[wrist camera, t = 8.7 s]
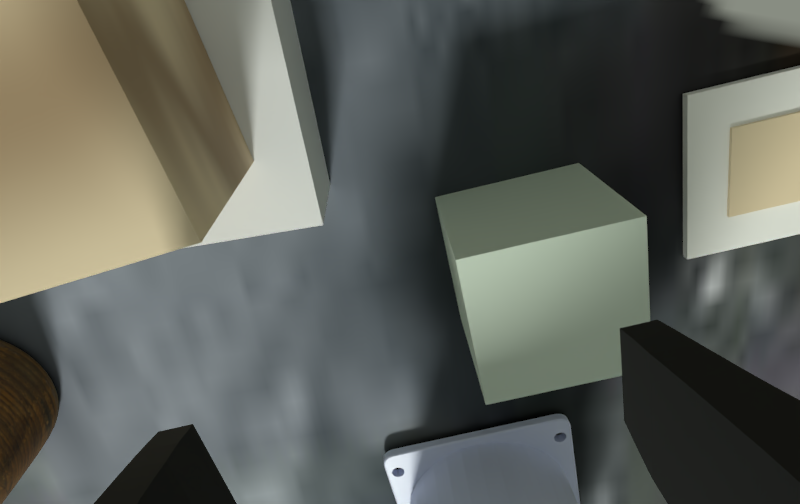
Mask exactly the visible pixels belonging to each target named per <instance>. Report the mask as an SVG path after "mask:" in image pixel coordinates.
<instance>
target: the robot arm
mask: <svg viewBox="0 0 800 504" xmlns="http://www.w3.org/2000/svg"><path fill="white" fill-rule="evenodd" d="M620 345H621V364H622V384H623V403H624V421H625V423H626V425H627V427H628V429H629V432H630V434H631V436H632V438H633V440H634V442H635V444H636V446H637V448H638V451H639V453H640V455H641V457H642V459H643V461H644V463H645V465H646V467H647V469H648V471H649V473H650V475H651V477H652V479H653V480H654V482H655V484H656V485H657V487H658V489H659V490H660V492H661V493H662V495H663V497H664V498H665V500H666V501H667V503H668V504H800V400H798V399H796V398H794V397H792V396H791V395H789V394H787V393H785V392H783V391H781V390H780V389H778V388H776V387H774V386H772V385H770V384H769V383H767V382H765V381H763V380H761V379H760V378H758V377H756V376H754V375H753V374H751V373H749V372H747V371H745V370H744V369H742V368H740V367H738V366H737V365H735V364H733V363H731V362H730V361H728V360H726V359H725V358H723V357H721V356H719V355H718V354H716V353H714V352H712V351H711V350H709V349H707V348H706V347H704V346H702V345H700V344H699V343H697V342H695V341H694V340H692V339H690V338H688V337H687V336H685V335H683V334H682V333H680V332H678V331H676V330H675V329H673V328H671V327H669V326H668V325H666V324H664V323H662V322H661V321H659V320H654V321H650V322H645V323H641V324H636V325H632V326H627V327H623V328H620ZM558 433H561V434H560V435H556V434H558ZM384 467H385V470H386V473H387V476H388V479H389V482H390V485H391V488H392V491H393V494H394V497H395V500H396V502H397V504H580V498H579V489H578V481H577V473H576V465H575V457H574V449H573V441H572V432H571V425H570V423H569V420H568V418H567V417H566V416H565V415H563V414H552V415H548V416H543V417H539V418H534V419H529V420H525V421H520V422H516V423H511V424H506V425H502V426H497V427H493V428H488V429H483V430H479V431H474V432H470V433H465V434H460V435H456V436H451V437H447V438H442V439H437V440H433V441H428V442H424V443H419V444H414V445H410V446H405V447H401V448H396V449H392V450H389V451H388V452H386V453H385V455H384ZM395 468H401V469H395ZM94 504H236V502H235V500H234V498H233V496H232V495H231V493H230V491H229V489H228V487H227V485H226V484H225V482H224V480H223V478H222V476H221V474H220V473H219V471H218V469H217V467H216V465H215V464H214V462H213V460H212V458H211V456H210V454H209V453H208V451H207V449H206V447H205V445H204V444H203V442H202V440H201V438H200V436H199V434H198V433H197V431H196V429H195V427H194V425H193V424H191V425H187V426H182V427H178V428H174V429H169V430H165V431H160V432H158V433H157V434H156V435H155V436H154V437H153V438H152V439H151V440H150V441H149V442H148V443H147V444H146V445H145V446H144V447H143V448H142V450H141V451H140V452H139V453H138V454H137V455H136V456H135V457H134V458H133V459H132V461H131V462H130V463H129V464H128V465H127V466H126V467H125V469H124V470H123V471H122V472H121V473H120V474H119V475H118V477H117V478H116V479H115V480H114V481H113V482H112V483H111V485H110V486H109V487H108V488H107V489H106V490H105V491H104V493H103V494H102V495H101V496H100V497H99V498H98V499H97V501H96V502H95V503H94Z"/></svg>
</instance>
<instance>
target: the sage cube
mask: <svg viewBox="0 0 800 504" xmlns="http://www.w3.org/2000/svg"><path fill="white" fill-rule="evenodd" d="M435 201H436V206H437V210H438V215H439V220H440V224H441V229H442V234H443V238H444V243H445V248H446V252H447V257H448V262H449V266H450V271H451V276H452V280H453V285H454V290H455V294H456V299H457V303H458V308H459V313H460V317H461V321H462V324H463V328H464V331H465V335H466V338H467V342H468V345H469V349H470V352H471V356H472V359H473V363H474V366H475V369H476V373H477V376H478V380H479V383H480V387H481V390H482V394H483V397H484V401H485V404H486V405H488V404H493V403H498V402H502V401H507V400H512V399H516V398H521V397H526V396H530V395H535V394H539V393H544V392H549V391H553V390H558V389H563V388H567V387H572V386H576V385H581V384H586V383H590V382H595V381H600V380H604V379H609V378H613V377H618V376H622V364H621V345H620V328H623V327H627V326H632V325H636V324H641V323H645V322H650V300H649V270H648V240H647V216H646V215H645V214H643V213H642V212H641V211H640V210H638V209H637V208H636V207H634V206H633V205H632V204H631V203H629V202H628V201H627V200H626V199H624V198H623V197H622V196H620V195H619V194H618V193H617V192H615V191H614V190H613V189H611V188H610V187H609V186H608V185H606V184H605V183H604V182H603V181H601V180H600V179H599V178H597V177H596V176H595V175H594V174H592V173H591V172H590V171H589V170H587V169H586V168H585V167H583V166H582V165H581V164H580V163H576V164H572V165H568V166H564V167H560V168H555V169H551V170H547V171H543V172H539V173H534V174H530V175H526V176H522V177H518V178H513V179H509V180H505V181H501V182H496V183H492V184H488V185H484V186H480V187H475V188H471V189H467V190H463V191H459V192H454V193H450V194H446V195H442V196H438V197H435Z"/></svg>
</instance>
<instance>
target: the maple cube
mask: <svg viewBox="0 0 800 504" xmlns="http://www.w3.org/2000/svg"><path fill="white" fill-rule="evenodd" d="M253 162H254V160H253V158H252V155H251V153H250V151H249V148H248V146H247V144H246V142H245V139H244V137H243V135H242V132H241V130H240V128H239V125H238V123H237V121H236V118H235V116H234V114H233V111H232V109H231V107H230V105H229V102H228V100H227V98H226V95H225V93H224V91H223V88H222V86H221V84H220V81H219V79H218V77H217V75H216V72H215V70H214V68H213V65H212V63H211V61H210V58H209V56H208V54H207V51H206V49H205V47H204V45H203V42H202V40H201V38H200V35H199V33H198V31H197V28H196V26H195V24H194V21H193V19H192V17H191V14H190V12H189V10H188V8H187V5H186V3H185V1H184V0H0V303H3V302H6V301H9V300H13V299H16V298H19V297H22V296H26V295H29V294H32V293H36V292H39V291H42V290H46V289H49V288H52V287H56V286H59V285H62V284H65V283H69V282H72V281H75V280H79V279H82V278H85V277H89V276H92V275H95V274H98V273H102V272H105V271H108V270H112V269H115V268H118V267H122V266H125V265H128V264H131V263H135V262H138V261H141V260H145V259H148V258H151V257H155V256H158V255H161V254H165V253H168V252H171V251H174V250H178V249H181V248H184V247H188V246H191V245H194V244H198V243H201V242H202V241H203V239H204V238H205V236H206V234H207V233H208V231H209V230H210V228H211V227H212V225H213V224H214V222H215V221H216V219H217V218H218V216H219V214H220V213H221V211H222V210H223V208H224V207H225V205H226V204H227V202H228V201H229V199H230V198H231V196H232V194H233V193H234V191H235V190H236V188H237V187H238V185H239V184H240V182H241V181H242V179H243V178H244V176H245V174H246V173H247V171H248V170H249V168H250V167H251V165H252V164H253Z"/></svg>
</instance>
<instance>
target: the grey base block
mask: <svg viewBox="0 0 800 504" xmlns="http://www.w3.org/2000/svg"><path fill="white" fill-rule="evenodd" d="M184 1H185V3H186V5H187V8H188V10H189V12H190V14H191V17H192V19H193V21H194V24H195V26H196V28H197V31H198V33H199V35H200V38H201V40H202V42H203V45H204V47H205V49H206V51H207V54H208V56H209V58H210V61H211V63H212V65H213V68H214V70H215V72H216V75H217V77H218V79H219V81H220V84H221V86H222V88H223V91H224V93H225V95H226V98H227V100H228V102H229V105H230V107H231V109H232V111H233V114H234V116H235V118H236V121H237V123H238V125H239V128H240V130H241V132H242V135H243V137H244V139H245V142H246V144H247V146H248V148H249V151H250V153H251V155H252V158H253V160H254V162H253V164H252V165H251V167H250V168H249V170H248V171H247V173H246V174H245V176H244V178H243V179H242V181H241V182H240V184H239V185H238V187H237V188H236V190H235V191H234V193H233V194H232V196H231V198H230V199H229V201H228V202H227V204H226V205H225V207H224V208H223V210H222V211H221V213H220V214H219V216H218V218H217V219H216V221H215V222H214V224H213V225H212V227H211V228H210V230H209V231H208V233H207V234H206V236H205V238H204V239H203V241H202V242H201V243H198V244H194V245H191V246H188V247H193V246H199V245H205V244H211V243H217V242H223V241H229V240H235V239H241V238H247V237H253V236H260V235H266V234H272V233H278V232H284V231H290V230H296V229H302V228H308V227H314V226H320V225H323V223H324V217H325V212H326V206H327V200H328V195H329V189H330V180H329V176H328V171H327V167H326V162H325V158H324V153H323V148H322V144H321V139H320V135H319V130H318V125H317V121H316V116H315V112H314V107H313V102H312V98H311V93H310V89H309V84H308V79H307V75H306V70H305V66H304V61H303V57H302V52H301V47H300V43H299V38H298V34H297V29H296V24H295V20H294V15H293V11H292V6H291V1H290V0H184ZM184 248H187V247H184Z"/></svg>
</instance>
